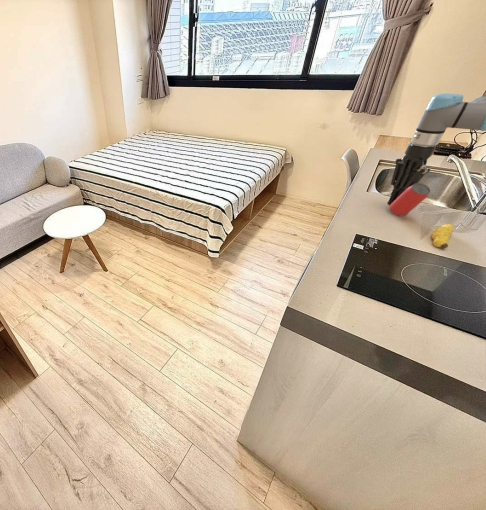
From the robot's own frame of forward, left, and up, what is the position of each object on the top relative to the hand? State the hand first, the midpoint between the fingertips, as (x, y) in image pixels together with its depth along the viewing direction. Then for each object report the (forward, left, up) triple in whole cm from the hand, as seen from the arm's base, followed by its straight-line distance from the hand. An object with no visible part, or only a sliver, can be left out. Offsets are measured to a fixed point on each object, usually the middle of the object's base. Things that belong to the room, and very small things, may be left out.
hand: (391, 204), depth 112 cm
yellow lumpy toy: (-11, +19, -2) cm, 22 cm away
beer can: (-2, +3, -1) cm, 4 cm away
